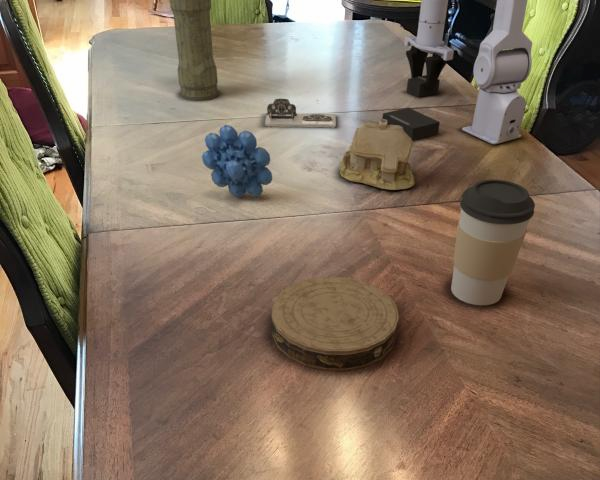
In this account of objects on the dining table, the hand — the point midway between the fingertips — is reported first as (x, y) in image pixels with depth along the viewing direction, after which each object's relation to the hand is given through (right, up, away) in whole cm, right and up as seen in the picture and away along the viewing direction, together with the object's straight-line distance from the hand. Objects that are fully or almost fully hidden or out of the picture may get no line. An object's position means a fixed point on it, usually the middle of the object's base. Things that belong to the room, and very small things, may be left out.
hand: (423, 86), depth 146 cm
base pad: (-6, -18, -16) cm, 25 cm away
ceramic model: (-15, -34, -33) cm, 50 cm away
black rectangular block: (0, -1, +1) cm, 1 cm away
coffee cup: (-5, -59, -60) cm, 85 cm away
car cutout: (-29, -14, -13) cm, 35 cm away
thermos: (-53, -3, -1) cm, 53 cm away
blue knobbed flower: (-40, -40, -40) cm, 69 cm away
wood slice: (-25, -66, -67) cm, 97 cm away
